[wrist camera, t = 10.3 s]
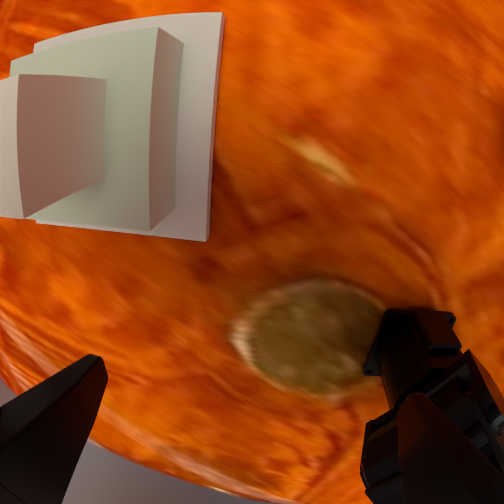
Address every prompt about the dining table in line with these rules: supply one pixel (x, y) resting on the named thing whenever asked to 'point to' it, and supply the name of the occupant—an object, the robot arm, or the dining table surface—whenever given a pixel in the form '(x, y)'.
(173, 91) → the base brick
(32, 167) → the pink brick
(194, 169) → the base plate
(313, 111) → the dining table surface
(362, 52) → the dining table surface
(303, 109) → the dining table surface
